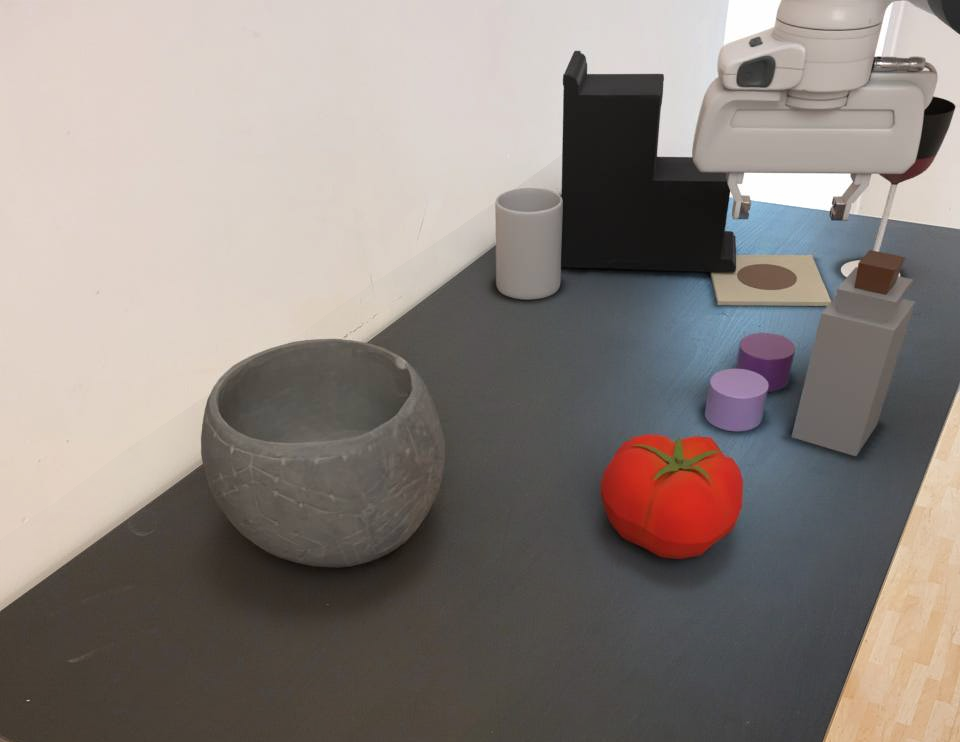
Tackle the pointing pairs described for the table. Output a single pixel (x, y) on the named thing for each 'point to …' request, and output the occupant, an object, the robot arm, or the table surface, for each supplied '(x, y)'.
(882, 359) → the perfume bottle
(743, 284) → the placemat
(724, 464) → the tomato
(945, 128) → the wineglass
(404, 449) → the bowl
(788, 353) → the squat plum drum
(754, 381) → the lilac cylinder
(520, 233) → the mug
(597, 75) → the bookend
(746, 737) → the table surface
